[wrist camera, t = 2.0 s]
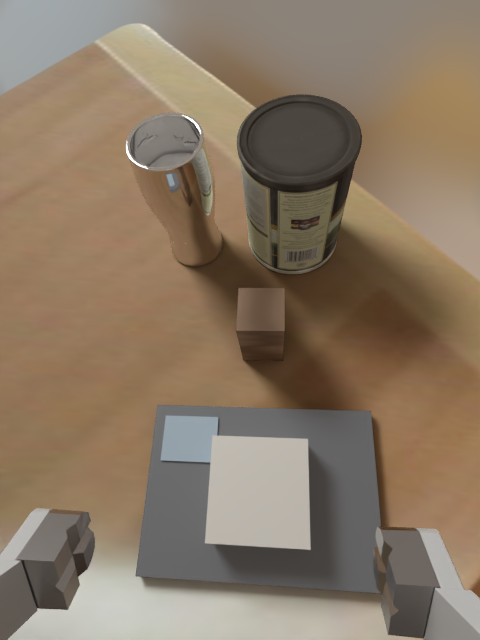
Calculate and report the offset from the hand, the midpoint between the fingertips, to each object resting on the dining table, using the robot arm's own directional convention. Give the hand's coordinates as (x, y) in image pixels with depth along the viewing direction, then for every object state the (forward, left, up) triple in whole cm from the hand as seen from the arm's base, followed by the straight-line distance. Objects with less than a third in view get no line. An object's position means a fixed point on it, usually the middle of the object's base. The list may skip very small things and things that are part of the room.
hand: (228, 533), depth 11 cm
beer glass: (-8, +27, -26) cm, 38 cm away
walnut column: (0, +15, -26) cm, 30 cm away
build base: (0, +1, -26) cm, 26 cm away
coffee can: (+3, +28, -26) cm, 38 cm away
